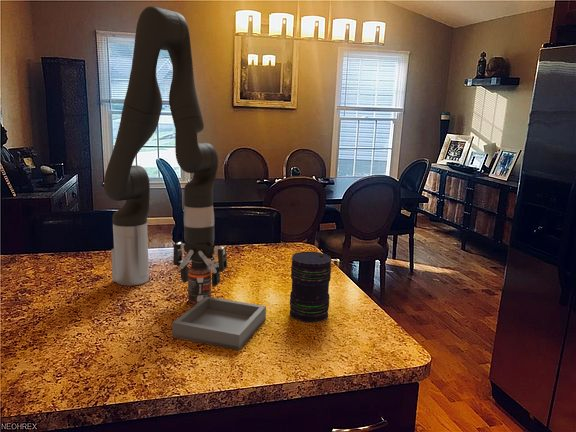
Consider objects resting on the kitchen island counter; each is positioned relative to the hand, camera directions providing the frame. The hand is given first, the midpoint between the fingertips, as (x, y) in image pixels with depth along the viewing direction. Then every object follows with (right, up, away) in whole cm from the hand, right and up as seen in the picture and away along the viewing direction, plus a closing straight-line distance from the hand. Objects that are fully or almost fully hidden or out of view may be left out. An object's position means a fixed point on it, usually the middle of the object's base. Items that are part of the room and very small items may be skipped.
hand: (200, 283), depth 122 cm
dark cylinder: (+28, -7, -4) cm, 29 cm away
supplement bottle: (0, -5, +2) cm, 5 cm away
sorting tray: (+7, -8, -13) cm, 17 cm away
